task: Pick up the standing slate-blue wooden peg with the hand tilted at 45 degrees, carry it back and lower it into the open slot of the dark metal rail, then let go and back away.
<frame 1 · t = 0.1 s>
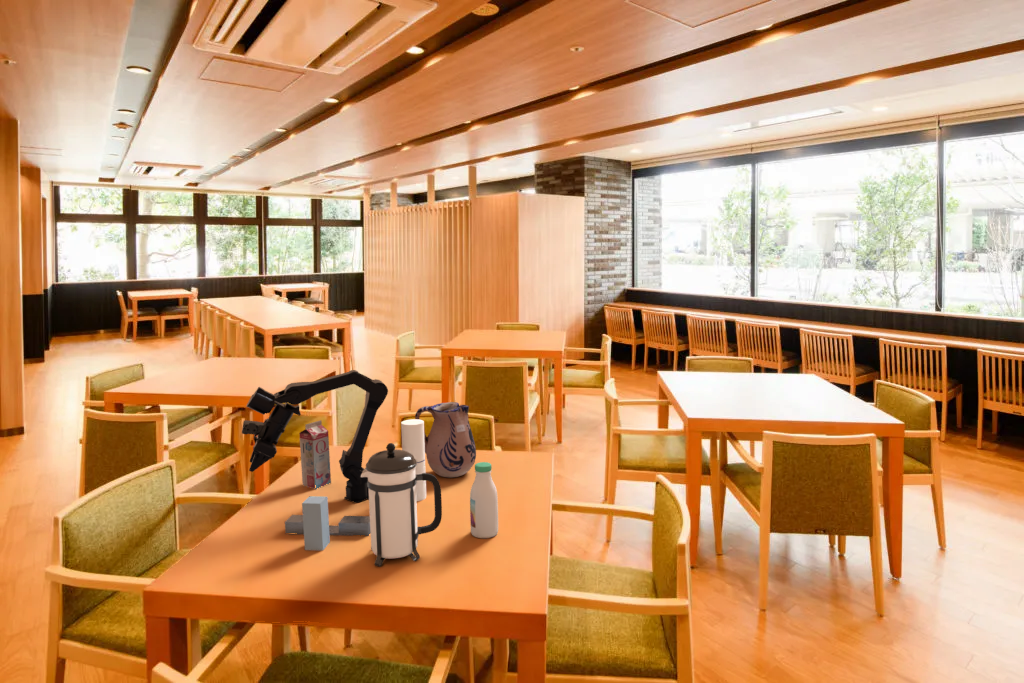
hand: (250, 466, 192), 15 cm above the table, tool tilted 35°, fingers open, 9 cm apart
coffee press: (399, 554, 167), on the table
rail: (330, 531, 181), on the table
juice carton: (316, 485, 219), on the table
cylindrical container: (415, 497, 206), on the table
milk bottle: (484, 533, 178), on the table
ceramic pitcher: (447, 474, 228), on the table
peg: (317, 546, 172), on the table
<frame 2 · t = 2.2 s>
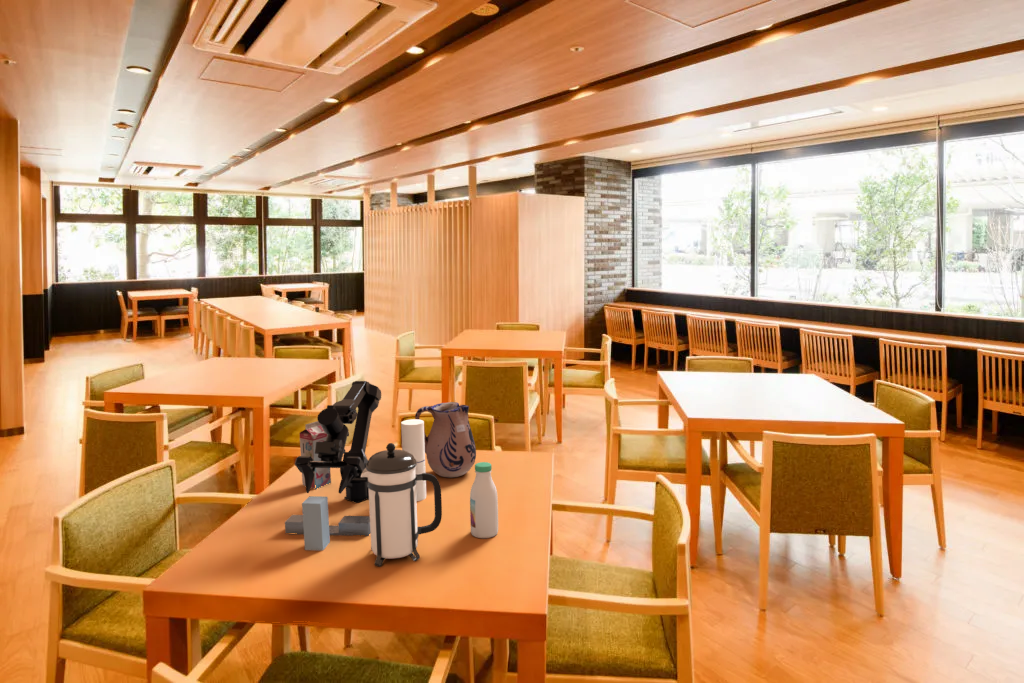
hand: (323, 492, 176), 13 cm above the table, tool tilted 45°, fingers open, 9 cm apart
nothing on the table moved.
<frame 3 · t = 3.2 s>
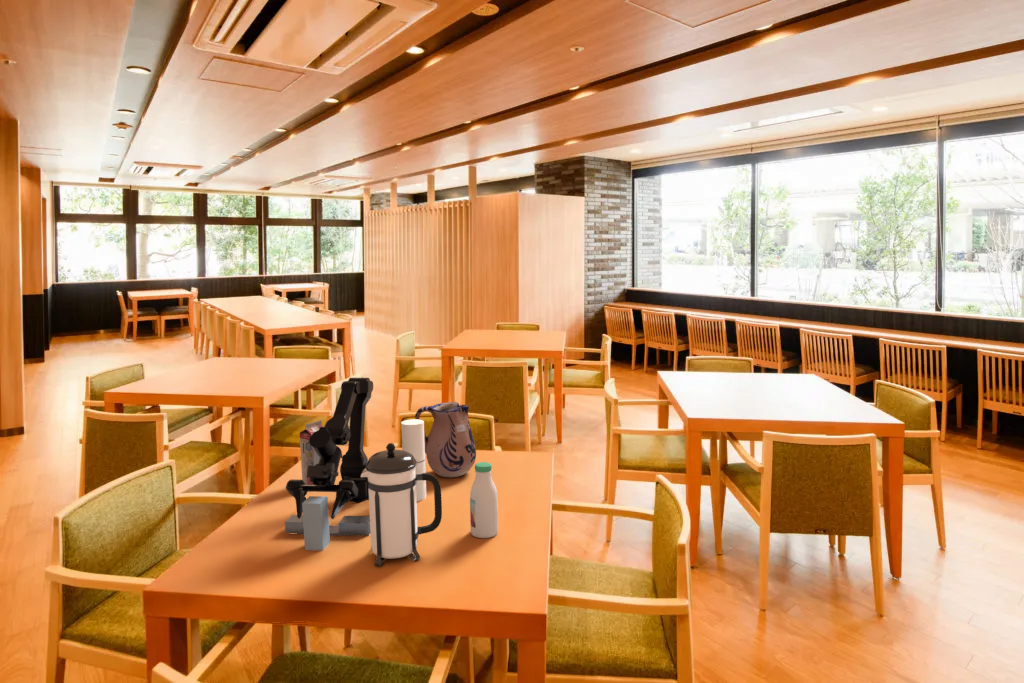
hand: (315, 518, 170), 8 cm above the table, tool tilted 45°, fingers open, 9 cm apart
nothing on the table moved.
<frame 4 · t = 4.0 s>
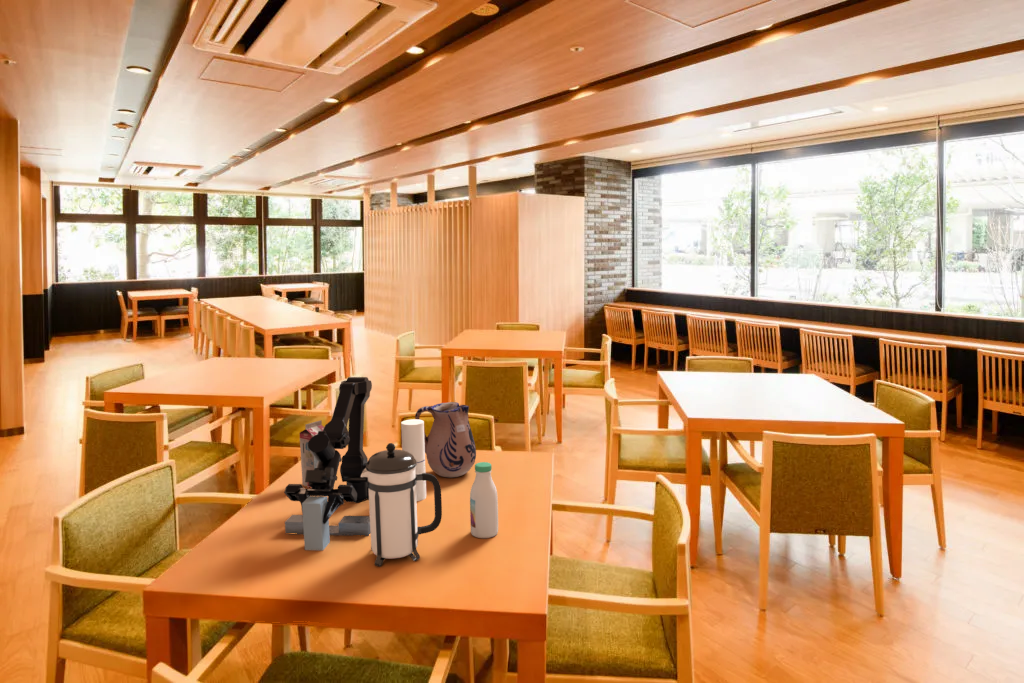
hand: (314, 523, 169), 7 cm above the table, tool tilted 45°, fingers closed on peg, 5 cm apart
peg: (317, 546, 172), on the table, touching gripper
everything else where it was.
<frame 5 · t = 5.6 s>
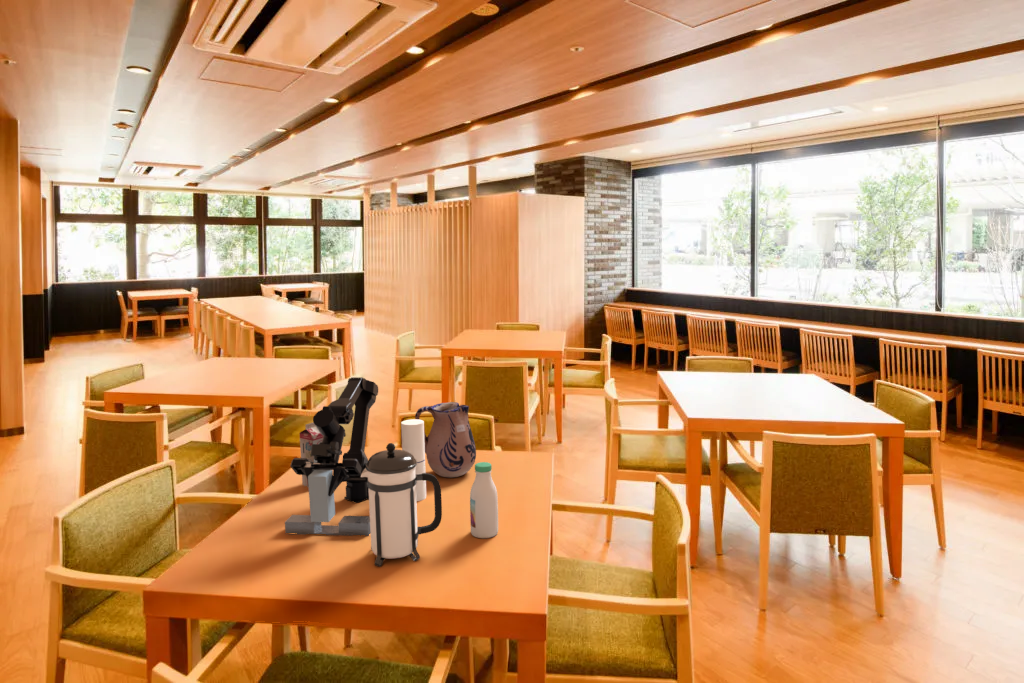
hand: (319, 495, 173), 13 cm above the table, tool tilted 45°, fingers closed on peg, 5 cm apart
peg: (323, 518, 176), point 6 cm above the table, touching gripper
everything else where it was.
when the fingers open (9 cm above the table, at t = 7.2 s): peg drops 1 cm, resting on rail.
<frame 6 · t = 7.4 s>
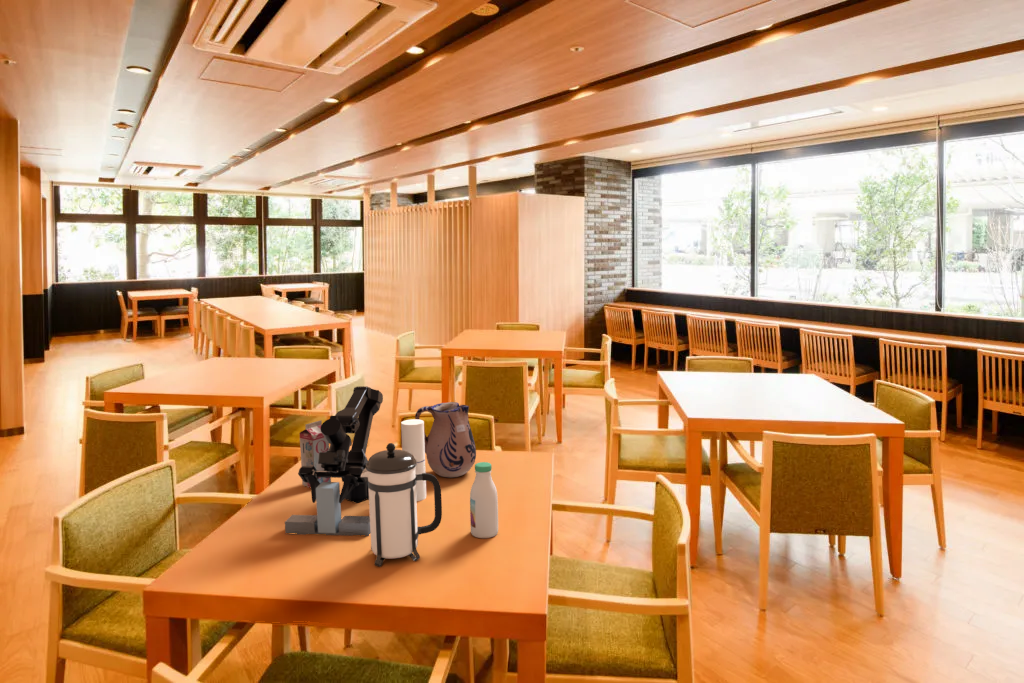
hand: (326, 502, 178), 9 cm above the table, tool tilted 45°, fingers open, 7 cm apart
peg: (330, 529, 181), point 1 cm above the table, touching rail
everything else where it was.
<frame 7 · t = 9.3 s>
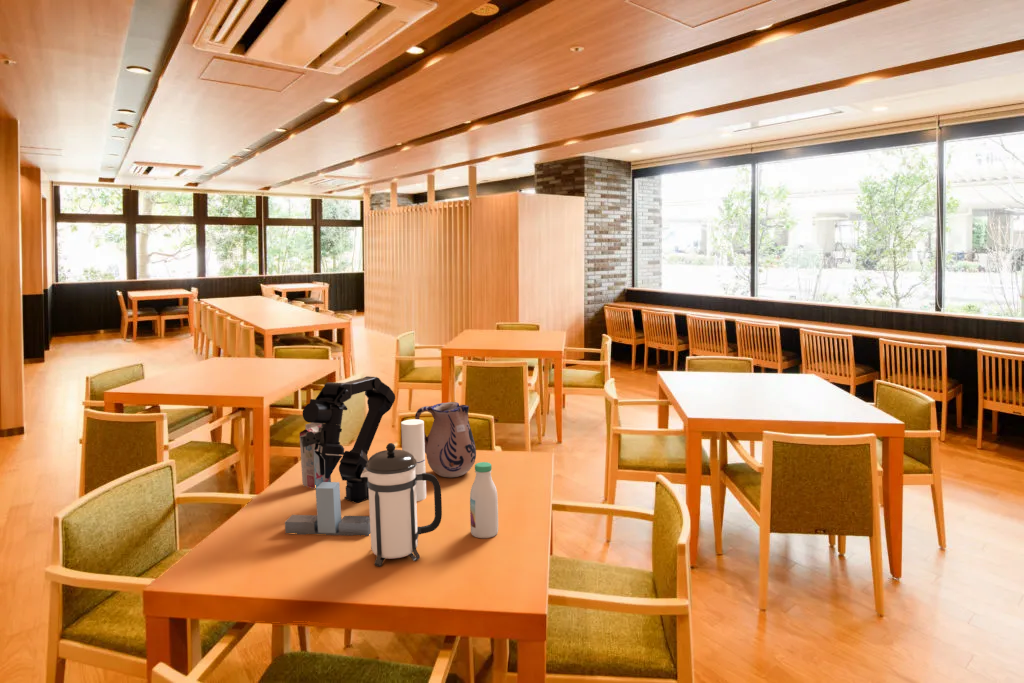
hand: (324, 476, 190), 12 cm above the table, tool tilted 15°, fingers open, 9 cm apart
nothing on the table moved.
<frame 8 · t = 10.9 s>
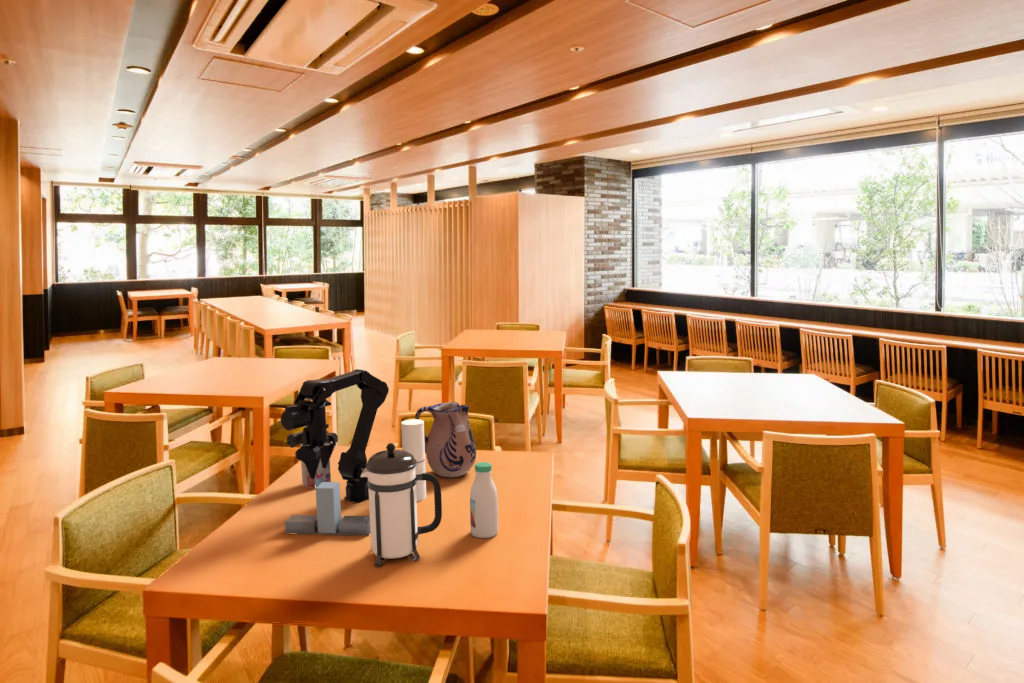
hand: (318, 473, 191), 13 cm above the table, tool pointing down, fingers open, 9 cm apart
nothing on the table moved.
at the end: peg 0.0 cm from the rail (horizontally); peg point 0.6 cm above the table; peg tilted 0° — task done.
